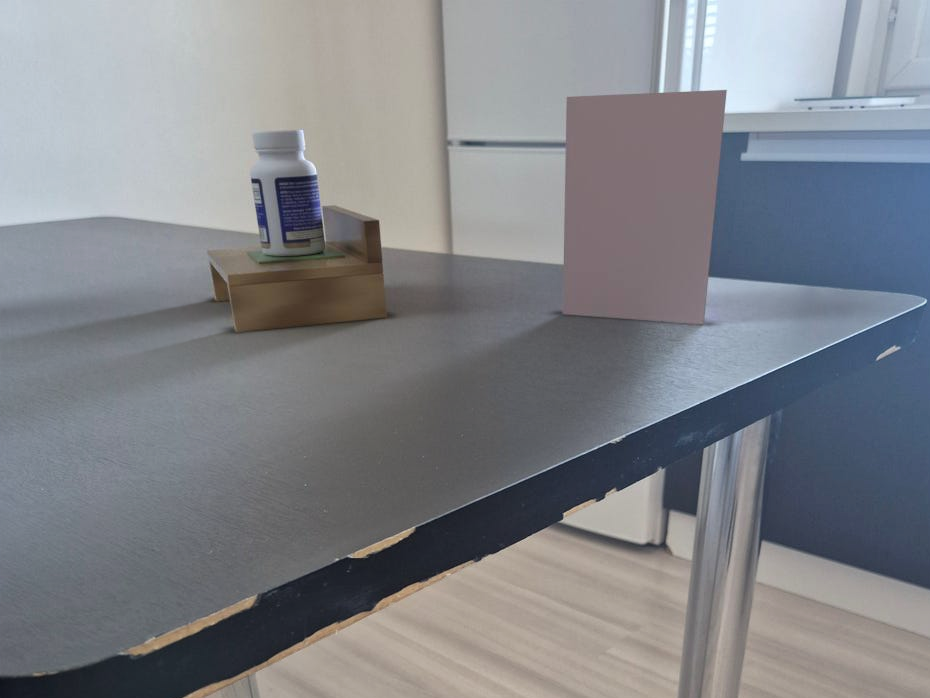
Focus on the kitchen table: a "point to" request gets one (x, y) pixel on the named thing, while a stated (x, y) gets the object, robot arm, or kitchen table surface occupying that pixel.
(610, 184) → the greeting card
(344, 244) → the shelf
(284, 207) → the pill bottle
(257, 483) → the kitchen table surface
